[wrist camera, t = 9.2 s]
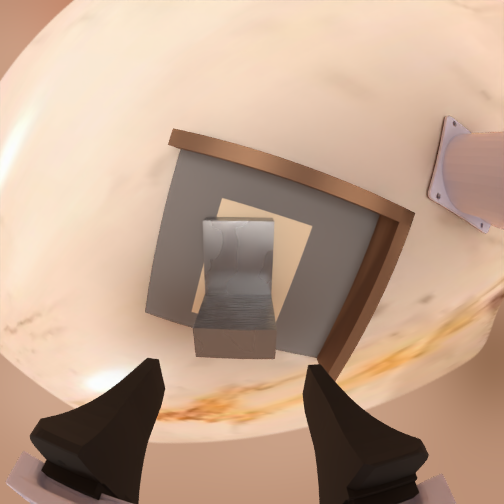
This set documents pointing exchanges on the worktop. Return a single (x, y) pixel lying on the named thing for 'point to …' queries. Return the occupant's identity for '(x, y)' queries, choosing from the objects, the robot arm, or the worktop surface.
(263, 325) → the angle bracket
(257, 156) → the corner walls
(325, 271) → the corner mat
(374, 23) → the worktop surface
